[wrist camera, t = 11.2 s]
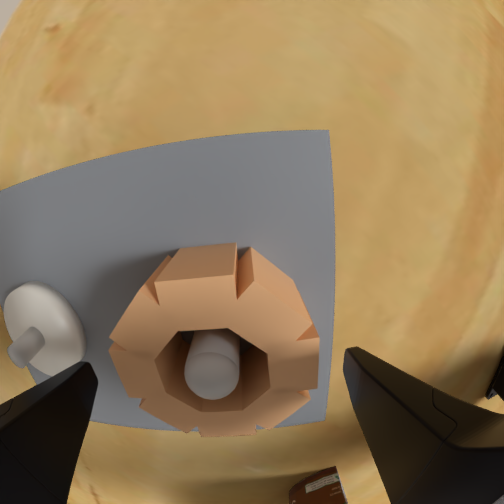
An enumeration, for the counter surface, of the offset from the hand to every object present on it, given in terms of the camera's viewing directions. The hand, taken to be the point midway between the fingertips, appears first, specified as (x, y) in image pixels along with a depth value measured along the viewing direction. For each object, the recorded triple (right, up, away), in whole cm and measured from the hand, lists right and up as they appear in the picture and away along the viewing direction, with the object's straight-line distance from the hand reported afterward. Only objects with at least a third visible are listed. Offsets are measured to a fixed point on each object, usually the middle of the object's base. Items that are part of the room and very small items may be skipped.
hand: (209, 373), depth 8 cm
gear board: (-4, +1, +4) cm, 6 cm away
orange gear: (0, +1, +3) cm, 3 cm away
